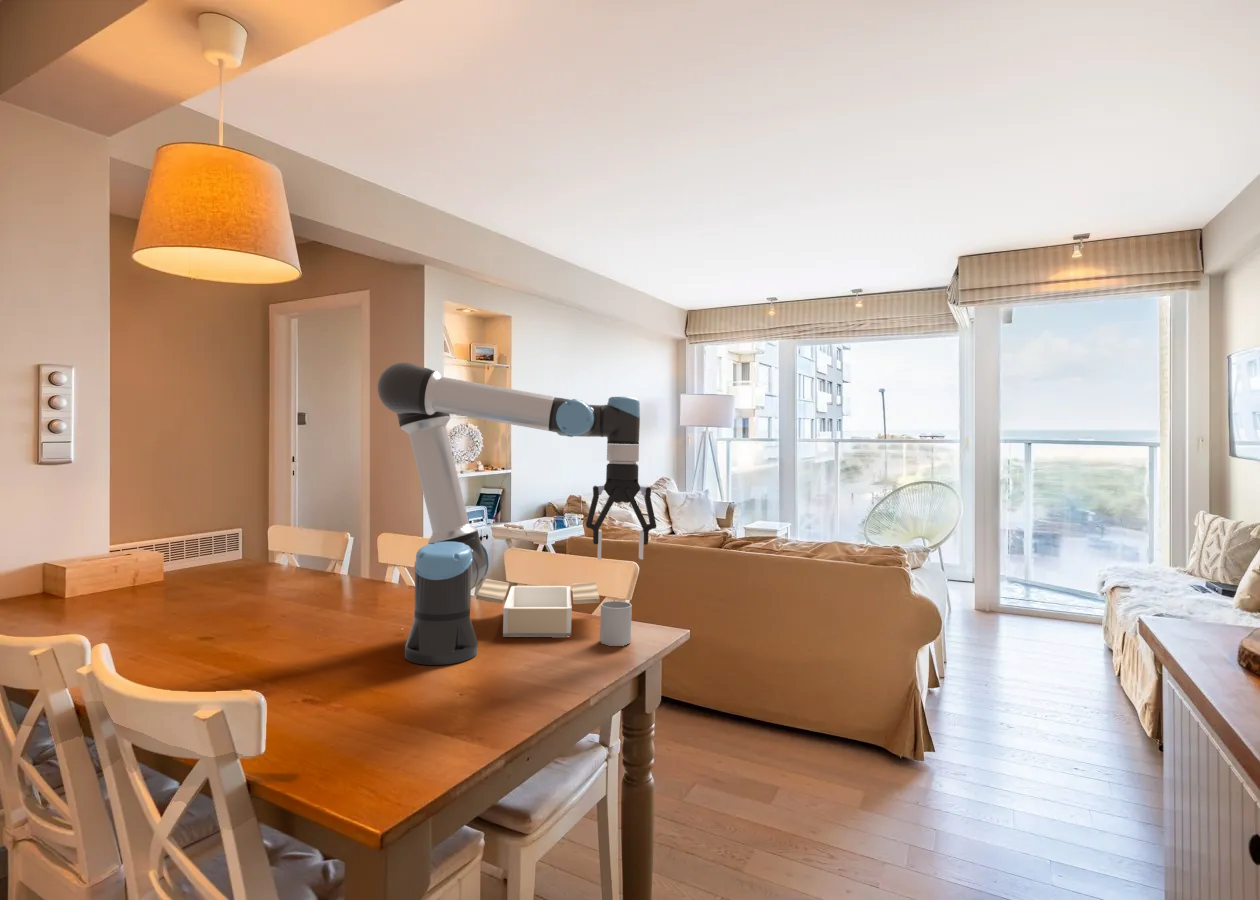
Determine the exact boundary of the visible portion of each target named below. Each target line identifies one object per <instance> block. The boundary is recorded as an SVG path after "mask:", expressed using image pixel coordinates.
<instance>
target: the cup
mask: <svg viewBox="0 0 1260 900" xmlns="http://www.w3.org/2000/svg"><path fill="white" fill-rule="evenodd" d="M632 607H633V606H632V604H631V603H630V602H628V601H622V600H609V601H608V600H607V601H604V602H603V601H602V603H601V604H600V623H599V624H600V627H599V628H600V629H599V630H600V631H599V640H600V641H599V642H600V643H601V645H603V644H605V645H611V646H623V645H627V644H629V643H630V644H631V640H632ZM630 644H629V645H630ZM605 645H604V646H605ZM627 646H628V645H627ZM623 647H624V646H623Z"/></svg>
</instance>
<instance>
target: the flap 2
mask: <svg viewBox="0 0 1260 900" xmlns="http://www.w3.org/2000/svg"><path fill="white" fill-rule="evenodd" d="M571 593H572V600H573V601H572V602H573V603H572V604H573V605H580V604H581V605H582V604H583V605H584V604H597V603H598V604H599V603H600V602H601V601H600V600H601V598H600V595H599V590H598V587H597V582H596V581H591V582H577V583H576V582H574V583H571Z"/></svg>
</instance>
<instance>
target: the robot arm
mask: <svg viewBox="0 0 1260 900" xmlns="http://www.w3.org/2000/svg"><path fill="white" fill-rule="evenodd" d="M377 393H378V397H379V400H380V401H381V404H383V405H384V407H386V408H387V409H388V410H389V411H391V412H393V413H396V416H397V420H398V425H399V428H400V430H401V431H404V432H405V433H406V434H408V436H409V441H410V445H411V450H412V452H413V456H414V462H415V465H416V470H417V473H418V478H419V482H420V486H421V491H422V494H423V499H424V502H425V506H426V507H425V508H426V510H427V515H428V518H429V524H430V527H431V532H432V534H431V536H430V537H429V539H428V541H427V543H428V544H425V545H423V546H422V547H420V548H419V549H418V550H417V552H416V556H415V561H414V613H413V614H414V616H413V618H414V619H413V622H412V625H411V628H410V630H409V634H408V637H407V640H406V642H405V646H404V658H405V660H407V661H408V662H410V663H414V664H418V665H425V666H442V665H443V666H444V665H453V664H457V663H462V662H466V661H468V660H470V659H473V658H474V657H476V656H477V654H478V650H479V649H478V646H479V641H478V639H477V635H476V631H475V629H474V625H473V622H472V619H471V602H472V601H471V600H472V598H471V597H472V595H471V594H472V590H473V589H474V588H476V587H477V586H479V585H480V584H481V583H482V582H483V581H484V578H485V577H486V575H487V573H488V570H489V567H490V554H489V552H488V549H487V548H486V547H485V545H484V544H483V543H482V542H481V539H480V535H479V531H478V527H475V526H473V525H471V524H470V521H469V517H468V513H467V509H466V504H465V499H464V496H463V492H462V488H461V485H460V484H461V483H460V480H459V476H458V471H457V467H456V463H455V459H454V456H453V450H452V447H451V442H450V439H449V435H448V431H447V424H448V422H449V421H450V420H451V415H455V416H461V417H468V418H472V419H477V420H478V419H479V420H484V421H491V422H496V423H501V424H506V425H513V426H517V427H518V426H519V427H525V428H528V429H529V428H530V429H536V430H541V431H547V432H552V433H557V435H558V436H562V437H563V436H564V437H569V438H570V437H571V438H572V437H588V438H589V437H590V438H591V437H592V438H593V437H596V438H599V437H600V438H604V437H605V438H606V439H607V442H606V443H607V444H606V447H607V448H606V460H607V462H609V463H607V464H606V471H605V472H606V475H605V483H604V485H593V486H592V493H593V495H592V498H591V499H592V500H591V503H590V507H589V510H588V514H587V518H586V522H585V526H586V528H588V529H591V530H592V532H593V533H592V542H593V543H592V544H593V545H597V550H596V551H597V554H596V555H597V557H596V558H597V559H598V560H602V543H603V542H602V540H603V531H602V529H600V528H601V526H602V524H603V522H604V520H605V518H607V515H608V513H609V511H610V509H611V508H612V506H613V504H614V503H625V504H627V503H630V505H631V507H632V509H633V512H634V514H635V515H636V517H637V520H638V522H639V524H640V526H641V528H642V529H639V531H638V533H639V534H638V559H639V560H644V549H645V548H644V546H645V545H646V546H648V544H649V532H650V531H651V530H654V529H657V522H656V517H655V512H654V509H653V508H654V507H653V504H652V499H651V495H652V494H651V493H652V488H651V487H650V486H641V485H640V484H639V483H640V482H639V464H638V462H639V459H640V458H639V457H640V456H639V455H640V452H639V451H640V429H641V428H640V426H641V424H640V423H641V409H640V407H641V406H640V401H639V400H638V398H636V397H634V396H633V397H632V396H610V397H609V398H608V399H607V404H602V405H601V404H588V403H587V402H585V401H583V400H579V399H575V398H572V399H569V398H563V397H556V396H551V395H548V394H547V395H546V394H541V393H536V392H530V391H523V390H518V389H513V388H507V387H502V386H501V387H500V386H497V385H496V386H494V385H489V384H485V383H479V382H473V381H466V380H462V379H457V378H452V377H451V378H450V377H445V376H442V374H441V372H439V371H437V370H432V369H431V368H427V367H424V366H419V365H417V364H414V363H411V362H397V363H393V364H391V365H390V366H388V367H387V368H385V370H384V371H382V373H381V374H380V376H379V378H378V382H377ZM450 414H451V415H450ZM603 491H605V493H606V494H607V495H608V498H607V500H606V502H605V504H604V506H603V508H602V510H601V511H600V513H599V515H598V517H597V519H596V520H595V523H593V521H594V517H595V513H596V510H597V506H598V503H599V502H598V501H599V498H600V496H601V495H602V494H603ZM639 492H641V495H642V496H643V499H644V502H645V503H644V504H645V508H646V512H647V513H646V514H647V518H648V524H647V521H646V520H645V518H644V516H643V514H642V511H641V509H640V507H639V505H638V502H637V500H636V498H635V497H636V496H637V494H638V493H639Z"/></svg>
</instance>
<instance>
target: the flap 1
mask: <svg viewBox="0 0 1260 900" xmlns="http://www.w3.org/2000/svg"><path fill="white" fill-rule="evenodd" d="M509 587H510V582H507V581H505V582H504V581H500V580H494V579H490V578H485V580H483V583H482V584H481V587H480V588H479V590H478V592H477V594H476V596H475V597H476V598H475V600H479V601H485V602H490V603H496V604H502V605H503V603H504V601H505V598H506V595H507V594H508V593H507V592H508V590H509Z"/></svg>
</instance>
